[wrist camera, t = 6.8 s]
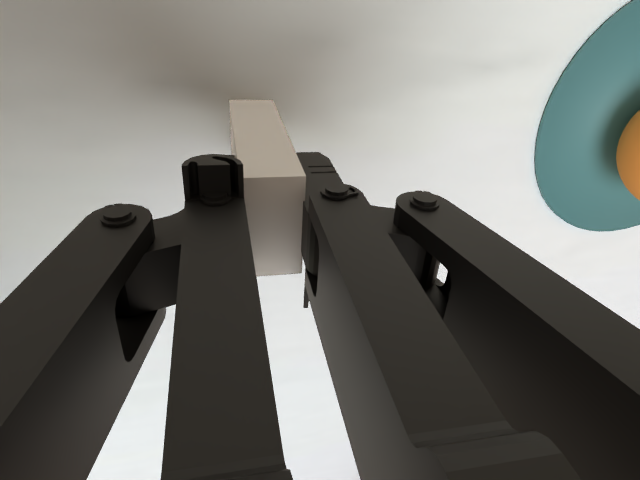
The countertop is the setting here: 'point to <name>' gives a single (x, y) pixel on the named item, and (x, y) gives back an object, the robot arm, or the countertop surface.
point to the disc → (592, 128)
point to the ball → (630, 156)
